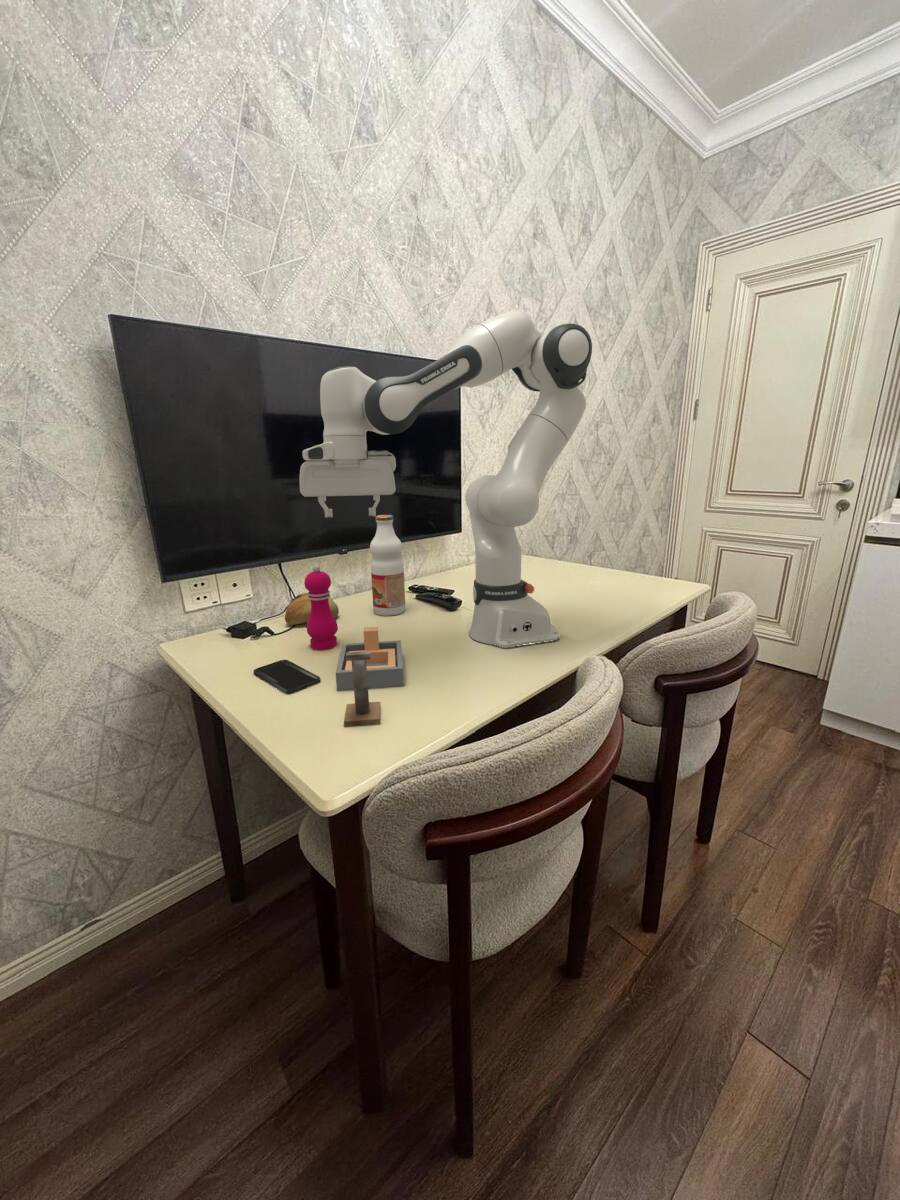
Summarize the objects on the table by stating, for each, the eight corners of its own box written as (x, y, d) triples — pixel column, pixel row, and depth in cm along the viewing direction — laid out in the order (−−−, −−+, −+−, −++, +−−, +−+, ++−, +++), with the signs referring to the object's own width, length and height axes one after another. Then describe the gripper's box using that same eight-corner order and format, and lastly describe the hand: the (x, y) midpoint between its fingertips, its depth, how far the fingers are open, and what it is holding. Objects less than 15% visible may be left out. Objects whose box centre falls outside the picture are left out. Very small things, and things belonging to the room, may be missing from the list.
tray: (401, 655, 109) (400, 640, 108) (403, 685, 95) (402, 668, 94) (343, 659, 107) (342, 644, 106) (337, 690, 93) (335, 672, 92)
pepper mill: (331, 652, 112) (323, 568, 106) (303, 650, 113) (293, 568, 107) (344, 640, 118) (337, 562, 113) (317, 639, 120) (309, 561, 114)
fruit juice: (403, 616, 136) (398, 517, 128) (370, 616, 136) (363, 518, 128) (407, 606, 145) (403, 513, 137) (376, 606, 145) (370, 513, 137)
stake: (380, 706, 87) (376, 645, 83) (380, 723, 81) (375, 659, 78) (347, 708, 86) (341, 647, 83) (344, 726, 81) (338, 661, 77)
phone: (285, 658, 107) (322, 678, 97) (285, 663, 107) (323, 683, 97) (250, 670, 101) (286, 692, 91) (251, 675, 101) (287, 697, 92)
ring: (395, 654, 107) (393, 625, 105) (396, 679, 96) (394, 646, 94) (350, 657, 106) (347, 628, 104) (345, 682, 95) (342, 649, 93)
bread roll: (280, 622, 133) (277, 594, 131) (331, 611, 141) (329, 585, 139) (291, 631, 126) (287, 602, 123) (344, 620, 134) (342, 593, 131)
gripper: (395, 450, 105) (397, 513, 109) (299, 451, 103) (306, 516, 107) (395, 450, 99) (398, 517, 103) (294, 451, 97) (301, 520, 101)
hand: (350, 516), depth 105 cm, fingers open, 8 cm apart
